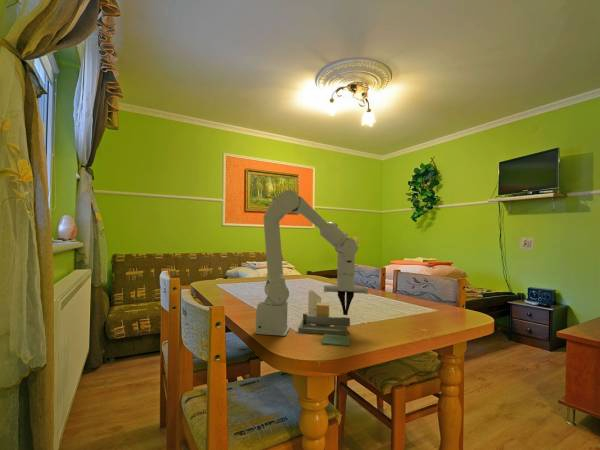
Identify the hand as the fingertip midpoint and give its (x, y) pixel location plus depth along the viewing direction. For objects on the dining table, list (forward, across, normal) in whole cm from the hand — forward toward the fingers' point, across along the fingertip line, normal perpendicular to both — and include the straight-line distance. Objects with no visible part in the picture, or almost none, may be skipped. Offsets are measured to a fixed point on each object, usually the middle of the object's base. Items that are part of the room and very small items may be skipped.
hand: (345, 314), depth 97 cm
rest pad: (+4, +3, +14) cm, 14 cm away
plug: (+4, +8, 0) cm, 9 cm away
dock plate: (+4, +7, +2) cm, 8 cm away
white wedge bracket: (+4, +11, -9) cm, 15 cm away
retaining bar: (+3, +6, +4) cm, 8 cm away
